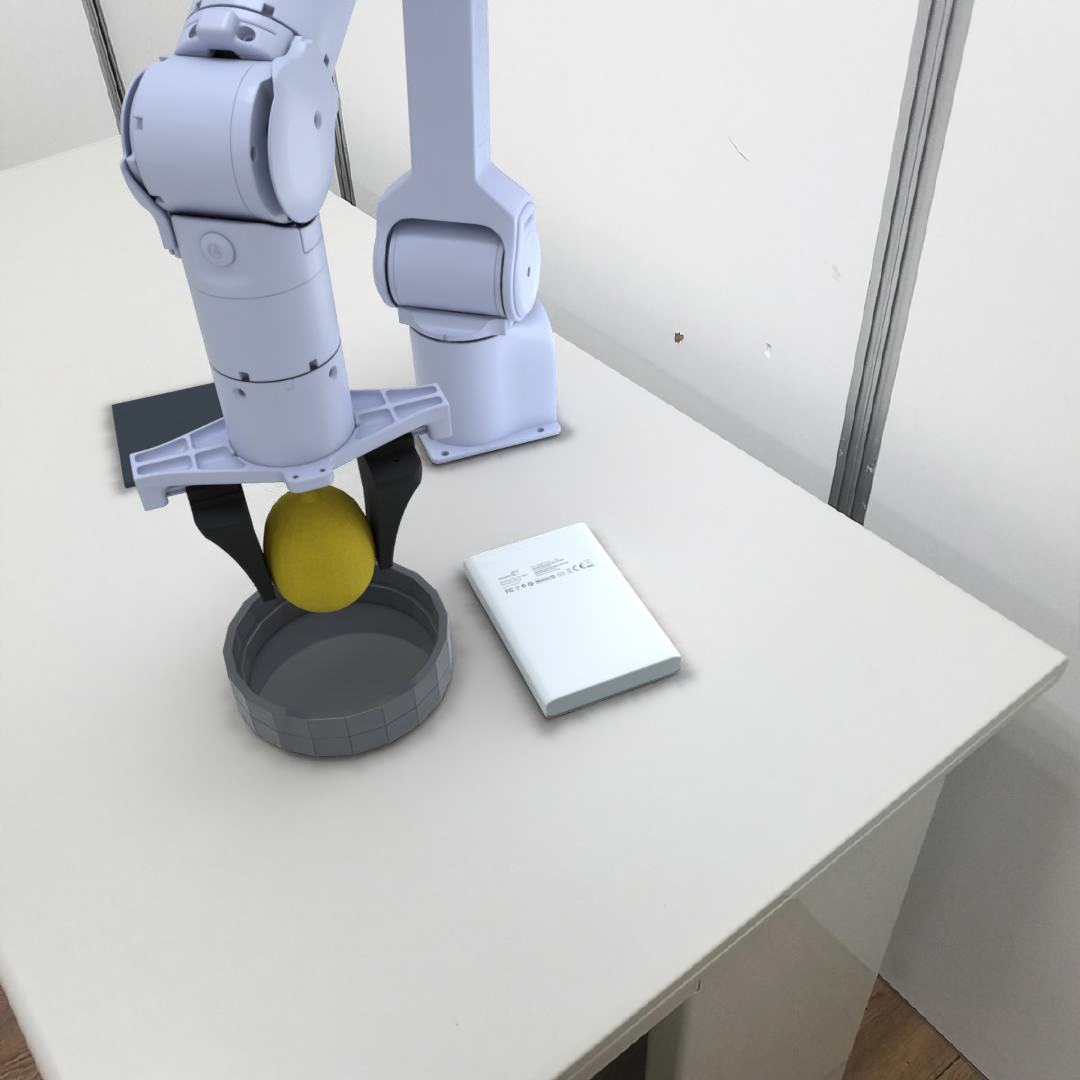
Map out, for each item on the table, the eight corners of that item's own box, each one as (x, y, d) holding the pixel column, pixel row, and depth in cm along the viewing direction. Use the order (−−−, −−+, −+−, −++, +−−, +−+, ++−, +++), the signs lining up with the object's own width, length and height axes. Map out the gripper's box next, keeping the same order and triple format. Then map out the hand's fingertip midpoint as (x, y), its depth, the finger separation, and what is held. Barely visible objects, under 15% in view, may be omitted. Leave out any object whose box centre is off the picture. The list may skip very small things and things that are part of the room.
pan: (418, 577, 68) (412, 535, 66) (480, 720, 60) (477, 678, 57) (221, 631, 65) (208, 589, 63) (257, 790, 57) (244, 748, 54)
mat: (247, 379, 85) (246, 375, 84) (272, 453, 78) (271, 448, 77) (112, 409, 82) (111, 404, 82) (125, 488, 75) (123, 483, 75)
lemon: (365, 650, 56) (342, 533, 51) (263, 636, 57) (230, 519, 52) (397, 575, 60) (379, 459, 55) (301, 563, 61) (274, 448, 56)
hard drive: (545, 722, 59) (464, 575, 68) (680, 673, 62) (585, 537, 70) (544, 702, 58) (462, 556, 67) (682, 653, 61) (585, 518, 69)
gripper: (110, 436, 44) (192, 666, 53) (462, 356, 47) (481, 584, 56) (96, 346, 48) (173, 571, 58) (416, 280, 52) (440, 501, 61)
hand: (324, 572), depth 57 cm, fingers closed on lemon, 5 cm apart
